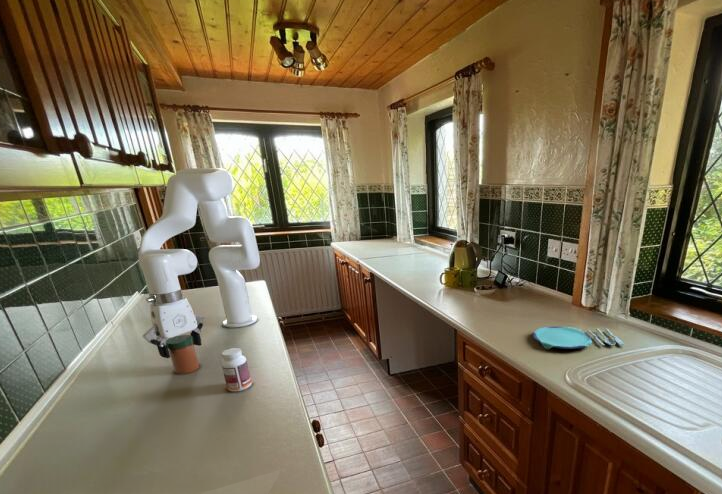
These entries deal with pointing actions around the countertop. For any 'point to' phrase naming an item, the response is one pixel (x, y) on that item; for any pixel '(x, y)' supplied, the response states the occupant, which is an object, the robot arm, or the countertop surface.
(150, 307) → the robot arm
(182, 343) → the jar lid
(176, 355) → the jam jar
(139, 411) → the countertop surface
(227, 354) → the pill bottle
